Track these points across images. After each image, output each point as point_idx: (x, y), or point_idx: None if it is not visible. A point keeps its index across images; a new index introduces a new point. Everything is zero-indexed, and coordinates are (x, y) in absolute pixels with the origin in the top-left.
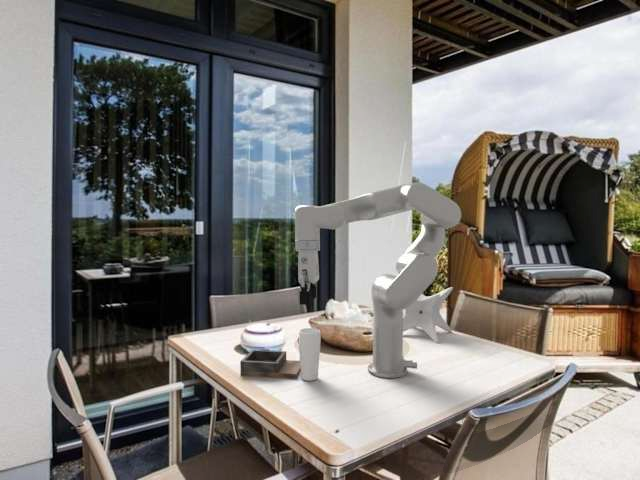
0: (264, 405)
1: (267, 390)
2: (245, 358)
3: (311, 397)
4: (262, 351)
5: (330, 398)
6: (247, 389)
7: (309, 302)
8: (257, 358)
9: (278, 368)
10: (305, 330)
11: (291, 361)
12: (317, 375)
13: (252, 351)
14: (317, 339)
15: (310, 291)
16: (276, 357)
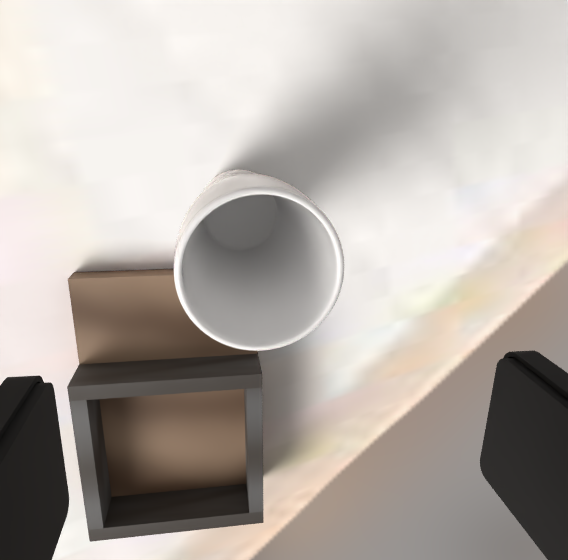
0: (503, 312)
1: (384, 341)
2: (223, 519)
3: (434, 162)
4: (98, 491)
5: (439, 79)
6: (382, 409)
7: (545, 368)
8: (108, 487)
9: (239, 360)
10: (199, 314)
11: (93, 335)
12: (249, 171)
13: (117, 530)
14: (302, 193)
15: (26, 537)
16: (97, 412)
